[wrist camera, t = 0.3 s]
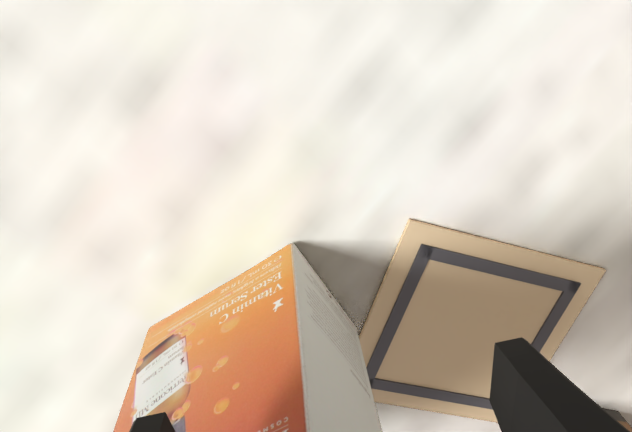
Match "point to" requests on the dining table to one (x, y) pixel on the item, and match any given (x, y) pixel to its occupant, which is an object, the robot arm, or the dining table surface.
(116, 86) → the dining table surface
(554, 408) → the robot arm
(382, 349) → the card sheet
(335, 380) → the small box
